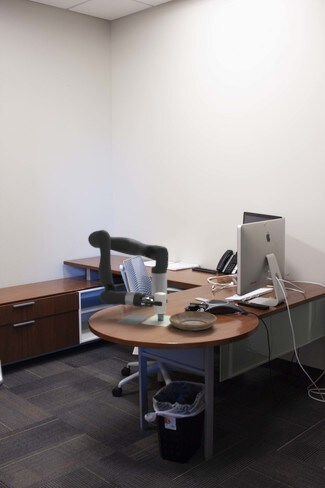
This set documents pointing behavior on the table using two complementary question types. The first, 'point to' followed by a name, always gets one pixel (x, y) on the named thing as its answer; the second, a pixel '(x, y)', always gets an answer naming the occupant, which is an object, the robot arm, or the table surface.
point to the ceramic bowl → (193, 320)
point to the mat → (133, 319)
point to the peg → (160, 317)
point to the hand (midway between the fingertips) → (164, 302)
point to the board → (154, 321)
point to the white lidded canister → (161, 298)
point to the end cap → (197, 307)
